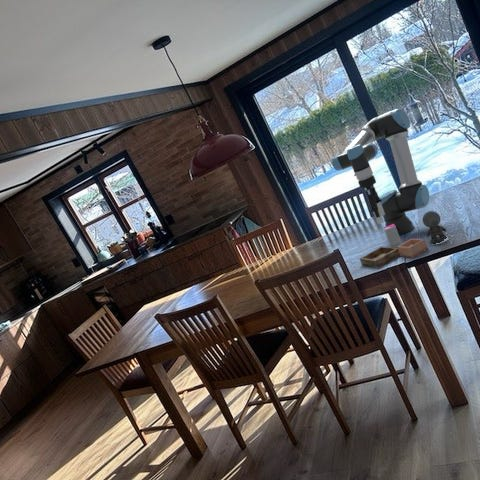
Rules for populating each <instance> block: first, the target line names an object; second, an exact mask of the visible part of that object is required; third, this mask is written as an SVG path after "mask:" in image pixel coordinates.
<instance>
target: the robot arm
mask: <svg viewBox="0 0 480 480" xmlns="http://www.w3.org/2000/svg"><path fill="white" fill-rule="evenodd" d="M410 127H411V120H410V117H409V115H408V114H407V113H406V112H405V110H403V109H402V108H394V109H393V110H390V111H387V112H385V113H382V114H380V115H379V116H376V117H373V118H372V119H370V120H369V121H367V123H366V124H364V125H363V127H361V129H359V130H358V133H357V135H356V137H355V138H354V139H353V140H352V141H351V142H350V143H349V144H348V145H347V147H346V148H345V149H344V150H343V151H342V152H341V153H339V154H337V155H336V156H333V157H332V158H331V165H332V167H333V169H334V170H335V171H339V172H340V171H342V170H345V169H349V168H352V169H353V173H354V174H353V176H354V177H356V180H357V183H358V185H359V188H360V189H365V194H366V196H367V199H368V202H369V206H370V209H371V210H370V212H371V213H373V215H374V218H375V220H376V223H377V225H380V224H385V226H384V227H386V226H389V225H392V224H394V225H395V226H396V229H397V231H398V234H399V236H402V235H405V234H407V233H408V232H411V231H412V230H414V227H415V226H414V224H413V222H412V220H411V219H410V218H409V217H408V216H407V214H406V213H407V212H411V211H416V210H420V209H423V208H426V207H427V206H428V205H429V202H430V192H429V188H428V187H427V185H425V184H422V181H421V180H420V179H418V175H417V171H416V169H415V164H414V161H413V158H412V153H411V148H410V146H409V142H408V138H407V135H408V133H409V130H408V129H409V128H410ZM382 138H385V140H386V141H388V142H389V144H390V147H391V151H392V156H393V160H394V163H395V166H396V167H395V168H396V170H397V174H398V178H399V182H400V186H399V188H398V190H399V191H398V190H397V189H391V190H389V191H387V192H384V194H382V195H380V196H379V194H378V192H377V190H376V187H375V186H374V185H375V184H376V183H377V181H376V178H375V175H373V170H372V167H371V165H370V163H369V162H370V161H372V159H374V158H375V157H376V156H377V155H378V152H379V149H378V146H377V144H375V143H373V142H375V141H377V140H380V139H382Z"/></svg>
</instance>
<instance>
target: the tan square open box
mask: <svg viewBox="0 0 480 480" xmlns="http://www.w3.org/2000/svg"><path fill="white" fill-rule="evenodd" d="M410 245H412V246H411V247H409V246H410ZM397 248H398V251H399V253H400V255H399V257H404V258H405V257H406V258H412V259H413V258H415V257H416V256H418V255H420V254H422V253H423V252H425V251H427V250H428V245H427V243H426V241H425V239H421V238H410V239H408V240H407V241H405V242H402V244H401V245H399V246H398V247H397Z"/></svg>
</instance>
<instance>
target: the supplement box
mask: <svg viewBox="0 0 480 480" xmlns="http://www.w3.org/2000/svg"><path fill="white" fill-rule="evenodd" d="M383 230H384V233H385V236H386V239H387V242H388V244H389V247H393V248H397V247H398V246H399V245H401V244H403V242H402V239H401V237H400V235H399V234H398V231H397V229H396V226H395V225H394V224H392V225H389V226H386V227H385V226H383Z"/></svg>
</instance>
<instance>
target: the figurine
mask: <svg viewBox="0 0 480 480" xmlns="http://www.w3.org/2000/svg"><path fill="white" fill-rule="evenodd" d="M441 220H442V219H441V216H440V214H439V213H438V212H436V211H434V210H430V211H426V212H425V213H424V214H423V215H422V224H423V225H424V226H425V227H427V228H429V229H428V230H427V232H426V236H427V238H429V237H430V238H431V240H429V244H430V243H431V244H436V243H440V242H442V241H444V239H446V238H447V237H446V235H447V234H446V235H445V234H444V232H445V233H446V232H447V230H446V228H445V227H444V226H441V225H440V223H441Z"/></svg>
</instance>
